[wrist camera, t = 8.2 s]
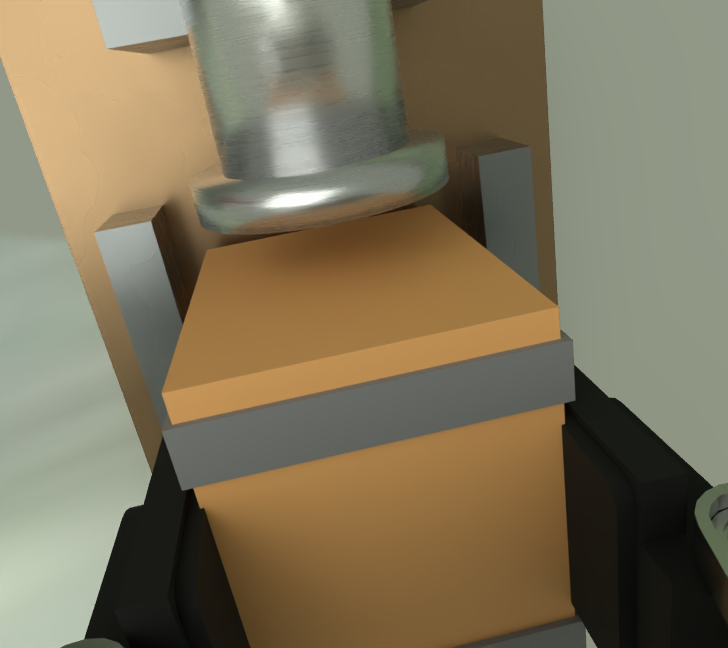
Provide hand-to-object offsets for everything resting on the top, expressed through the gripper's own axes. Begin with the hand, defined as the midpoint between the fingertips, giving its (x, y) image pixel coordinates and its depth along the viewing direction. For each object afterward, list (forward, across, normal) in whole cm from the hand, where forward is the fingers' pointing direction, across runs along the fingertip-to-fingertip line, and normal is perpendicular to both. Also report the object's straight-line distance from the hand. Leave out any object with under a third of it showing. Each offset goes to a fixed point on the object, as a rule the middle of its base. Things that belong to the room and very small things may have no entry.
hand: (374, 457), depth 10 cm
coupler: (+4, 0, 0) cm, 4 cm away
